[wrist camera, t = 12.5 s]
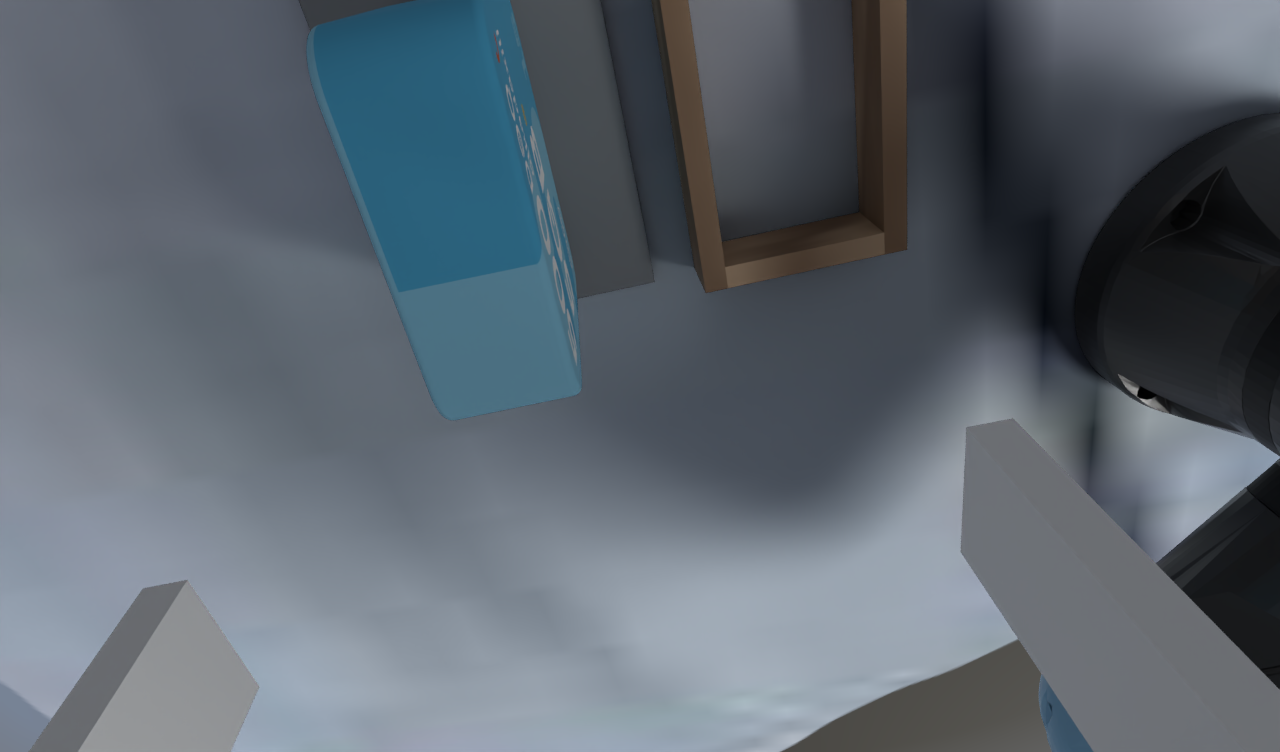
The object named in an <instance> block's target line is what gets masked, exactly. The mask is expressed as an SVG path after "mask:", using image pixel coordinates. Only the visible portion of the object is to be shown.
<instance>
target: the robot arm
mask: <svg viewBox="0 0 1280 752" xmlns="http://www.w3.org/2000/svg"><path fill="white" fill-rule="evenodd" d="M1075 325H1076V332H1077V337H1078V340H1079V343H1080V346H1081V348H1082V351H1083V353H1084V355H1085V357H1086V358H1087V360H1088V361H1089V363H1090V364H1091V365H1092V367H1093V368H1094V369H1095V370H1096V371H1097V372H1098V373H1099V374H1100V375H1101V376H1102V377H1104V378H1105V379H1106V380H1108V381H1109V382H1110V383H1112V384H1113V385H1114V386H1116V387H1117V388H1118V389H1120V390H1121V391H1122V392H1124V393H1125V394H1126V395H1128V396H1129V397H1130V398H1132V399H1134V400H1136V401H1137V402H1139V403H1141V404H1143V405H1146V406H1148V407H1150V408H1153V409H1156V410H1159V411H1162V412H1165V413H1169V414H1172V415H1175V416H1178V417H1182V418H1185V419H1188V420H1192V421H1195V422H1198V423H1202V424H1205V425H1208V426H1212V427H1215V428H1218V429H1222V430H1225V431H1228V432H1232V433H1235V434H1238V435H1241V436H1245V437H1248V438H1251V439H1255V440H1256V441H1258V442H1259V443H1261V444H1263V445H1264V446H1265V447H1267V448H1268V449H1270V450H1271V451H1273V452H1274V453H1276V454H1277V455H1279V456H1280V113H1273V114H1266V115H1260V116H1255V117H1251V118H1247V119H1244V120H1241V121H1237V122H1234V123H1231V124H1229V125H1226V126H1224V127H1221V128H1219V129H1217V130H1215V131H1213V132H1210V133H1208V134H1206V135H1204V136H1203V137H1201V138H1199V139H1197V140H1195V141H1193V142H1192V143H1190V144H1189V145H1187V146H1185V147H1184V148H1182V149H1181V150H1179V151H1178V152H1176V153H1175V154H1173V155H1172V156H1171V157H1169V158H1168V159H1167V160H1165V161H1164V162H1163V163H1161V164H1160V165H1159V166H1158V167H1157V168H1155V169H1154V170H1153V171H1152V172H1151V173H1150V174H1148V175H1147V176H1146V177H1145V178H1144V179H1143V180H1142V181H1141V182H1140V183H1139V184H1138V185H1137V186H1136V187H1135V188H1134V189H1133V190H1132V191H1131V192H1130V193H1129V195H1128V196H1127V197H1126V198H1125V199H1124V200H1123V201H1122V203H1121V204H1120V205H1119V206H1118V208H1117V209H1116V210H1115V212H1114V213H1113V214H1112V216H1111V217H1110V218H1109V220H1108V221H1107V223H1106V224H1105V226H1104V227H1103V229H1102V231H1101V232H1100V234H1099V236H1098V237H1097V239H1096V241H1095V243H1094V245H1093V247H1092V249H1091V251H1090V253H1089V255H1088V257H1087V260H1086V263H1085V265H1084V268H1083V271H1082V274H1081V277H1080V281H1079V285H1078V289H1077V295H1076V302H1075ZM961 553H962V555H963V556H964V558H965V559H966V561H967V562H968V564H969V565H970V567H971V568H972V570H973V571H974V573H975V574H976V576H977V577H978V579H979V580H980V582H981V583H982V585H983V586H984V588H985V589H986V591H987V592H988V594H989V595H990V597H991V598H992V600H993V601H994V603H995V604H996V606H997V607H998V609H999V610H1000V612H1001V613H1002V615H1003V616H1004V618H1005V619H1006V621H1007V622H1008V624H1009V625H1010V627H1011V628H1012V630H1013V631H1014V633H1015V634H1016V636H1017V637H1018V639H1019V640H1020V642H1021V643H1022V645H1023V646H1024V648H1025V649H1026V651H1027V652H1028V653H1029V655H1030V657H1031V658H1032V660H1033V661H1034V663H1035V664H1036V666H1037V667H1038V669H1039V670H1040V672H1041V673H1042V675H1041V679H1040V686H1039V704H1040V713H1041V717H1042V720H1043V723H1044V726H1045V729H1046V731H1047V737H1048V742H1049V745H1050V747H1051V750H1052V752H1280V459H1278V460H1277V461H1276V462H1275V463H1274V464H1273V465H1272V466H1271V467H1270V468H1268V469H1267V470H1266V471H1265V472H1264V473H1263V474H1261V475H1260V476H1259V477H1258V478H1257V479H1256V480H1254V481H1253V482H1252V483H1251V484H1250V485H1248V486H1247V487H1245V488H1244V489H1243V490H1242V491H1240V492H1239V493H1238V494H1237V495H1236V496H1235V497H1233V498H1232V499H1231V500H1230V501H1229V502H1228V503H1226V504H1225V505H1224V506H1223V507H1222V508H1220V509H1219V510H1218V511H1217V512H1216V513H1215V514H1213V515H1212V516H1211V517H1210V518H1209V519H1208V520H1206V521H1205V522H1204V523H1203V524H1202V525H1201V526H1199V527H1198V528H1197V529H1196V530H1195V531H1194V532H1192V533H1191V534H1190V535H1189V536H1188V537H1186V538H1185V539H1184V540H1183V541H1182V542H1181V543H1179V544H1178V545H1177V546H1176V547H1175V548H1174V549H1172V550H1171V551H1170V552H1169V553H1168V554H1167V555H1165V556H1164V557H1163V558H1162V559H1161V560H1160V561H1158V562H1157V563H1155V562H1154V561H1153V560H1152V559H1151V558H1150V557H1149V556H1148V555H1147V554H1146V553H1145V552H1144V551H1143V550H1142V549H1141V548H1140V547H1139V546H1138V545H1137V544H1136V543H1135V542H1134V541H1133V540H1132V539H1131V538H1130V537H1129V536H1128V535H1127V534H1126V533H1125V532H1124V531H1123V530H1122V529H1121V528H1120V527H1119V526H1118V525H1117V524H1116V523H1115V522H1114V521H1113V520H1112V519H1111V518H1110V517H1109V516H1108V515H1107V514H1106V513H1105V511H1104V510H1103V509H1102V508H1101V507H1100V506H1099V505H1098V504H1097V503H1096V502H1095V501H1094V500H1093V499H1092V498H1091V497H1090V496H1089V495H1088V494H1087V493H1086V492H1085V491H1084V490H1083V489H1082V488H1081V487H1080V486H1079V485H1078V484H1077V483H1076V482H1075V481H1074V480H1073V479H1072V478H1071V477H1070V476H1069V475H1068V474H1067V473H1066V472H1065V471H1064V470H1063V469H1062V468H1061V467H1060V466H1059V465H1058V464H1057V463H1056V462H1055V461H1054V460H1053V459H1052V458H1051V457H1050V456H1049V455H1048V453H1047V452H1046V451H1045V450H1044V449H1043V448H1042V447H1041V446H1040V445H1039V444H1038V443H1037V442H1036V441H1035V440H1034V439H1033V438H1032V437H1031V436H1030V435H1029V434H1028V433H1027V432H1026V431H1025V430H1024V429H1023V428H1022V427H1021V426H1020V425H1019V424H1018V423H1017V422H1016V421H1015V420H1014V419H1013V418H1012V419H1007V420H1002V421H997V422H992V423H987V424H982V425H977V426H972V427H966V448H965V469H964V490H963V512H962V533H961ZM258 689H259V685H258V684H257V682H256V681H255V679H254V678H253V676H252V675H251V674H250V672H249V671H248V669H247V668H246V666H245V665H244V663H243V662H242V660H241V659H240V657H239V656H238V654H237V653H236V651H235V650H234V648H233V647H232V645H231V644H230V642H229V641H228V639H227V638H226V636H225V635H224V633H223V632H222V630H221V629H220V627H219V626H218V625H217V623H216V622H215V620H214V619H213V617H212V616H211V614H210V613H209V611H208V610H207V608H206V607H205V605H204V604H203V602H202V601H201V599H200V598H199V596H198V595H197V593H196V592H195V590H194V589H193V587H192V586H191V584H190V583H189V581H188V580H184V581H179V582H174V583H169V584H164V585H159V586H154V587H149V588H144V589H142V591H141V592H140V594H139V595H138V596H137V598H136V599H135V601H134V602H133V604H132V605H131V606H130V608H129V609H128V611H127V612H126V614H125V615H124V616H123V618H122V619H121V621H120V622H119V624H118V625H117V626H116V628H115V629H114V631H113V632H112V634H111V635H110V636H109V638H108V639H107V641H106V642H105V644H104V645H103V646H102V648H101V649H100V651H99V652H98V654H97V655H96V656H95V658H94V659H93V661H92V662H91V664H90V665H89V666H88V668H87V669H86V671H85V672H84V674H83V675H82V676H81V678H80V679H79V681H78V682H77V684H76V685H75V686H74V688H73V689H72V691H71V692H70V694H69V695H68V696H67V698H66V699H65V701H64V702H63V704H62V705H61V706H60V708H59V709H58V711H57V712H56V714H55V715H54V716H53V718H52V719H51V721H50V722H49V723H48V725H47V726H46V728H45V729H44V731H43V732H42V734H41V735H40V736H39V738H38V739H37V741H36V742H35V744H34V745H33V746H32V748H31V749H30V751H29V752H231V750H232V747H233V745H234V743H235V741H236V738H237V736H238V734H239V732H240V729H241V727H242V725H243V723H244V720H245V718H246V716H247V714H248V711H249V709H250V707H251V704H252V702H253V700H254V698H255V695H256V693H257V691H258Z"/></svg>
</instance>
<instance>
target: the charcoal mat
mask: <svg viewBox="0 0 1280 752" xmlns="http://www.w3.org/2000/svg"><path fill="white" fill-rule="evenodd" d="M410 1H415V0H299V2H300V5H301V7H302V10H303V13H304V15H305V18H306V20H307V23H308V26H309V28H310V31H311V30H312V29H313V28H314V27H315V26H317V25H320V24H323V23H327V22H331V21H334V20H338V19H342V18H346V17H349V16H353V15H357V14H360V13H364V12H368V11H372V10H375V9H379V8H383V7H386V6H391V5H396V4H400V3H405V2H410ZM510 3H511V6H512V10H513V13H514V17H515V21H516V25H517V29H518V33H519V37H520V41H521V46H522V50H523V54H524V58H525V62H526V66H527V71H528V75H529V79H530V83H531V87H532V91H533V96H534V100H535V104H536V108H537V112H538V116H539V121H540V125H541V129H542V133H543V137H544V141H545V146H546V150H547V154H548V158H549V162H550V166H551V171H552V175H553V179H554V183H555V187H556V192H557V196H558V200H559V204H560V208H561V212H562V217H563V221H564V225H565V229H566V233H567V237H568V242H569V246H570V250H571V255H572V260H573V265H574V271H575V277H576V289H577V299H578V298H583V297H587V296H592V295H596V294H601V293H606V292H610V291H615V290H620V289H624V288H629V287H633V286H638V285H643V284H647V283H652V282H655V280H654V275H653V270H652V265H651V259H650V254H649V249H648V244H647V239H646V234H645V228H644V223H643V218H642V213H641V208H640V203H639V197H638V192H637V187H636V182H635V177H634V172H633V166H632V161H631V156H630V151H629V146H628V141H627V135H626V130H625V125H624V120H623V115H622V110H621V104H620V99H619V94H618V89H617V84H616V79H615V73H614V68H613V63H612V58H611V53H610V48H609V43H608V37H607V32H606V27H605V22H604V17H603V12H602V6H601V1H600V0H510Z"/></svg>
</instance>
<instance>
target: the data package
mask: <svg viewBox="0 0 1280 752" xmlns="http://www.w3.org/2000/svg"><path fill="white" fill-rule="evenodd" d="M306 53H307V64H308V70H309V74H310V79H311V83H312V86H313V90H314V93H315V96H316V99H317V102H318V105H319V107H320V110H321V112H322V115H323V118H324V120H325V123H326V125H327V128H328V131H329V133H330V136H331V138H332V141H333V144H334V146H335V149H336V151H337V154H338V157H339V159H340V162H341V164H342V167H343V170H344V172H345V175H346V177H347V180H348V183H349V185H350V188H351V190H352V193H353V196H354V198H355V201H356V203H357V206H358V209H359V211H360V214H361V217H362V219H363V222H364V224H365V227H366V230H367V232H368V235H369V237H370V240H371V243H372V245H373V248H374V250H375V253H376V256H377V258H378V261H379V263H380V266H381V269H382V271H383V274H384V276H385V279H386V282H387V284H388V287H389V289H390V292H391V295H392V297H393V300H394V302H395V305H396V308H397V310H398V313H399V315H400V318H401V321H402V323H403V326H404V328H405V331H406V334H407V336H408V339H409V341H410V344H411V347H412V349H413V352H414V354H415V357H416V360H417V362H418V365H419V367H420V370H421V373H422V375H423V378H424V380H425V383H426V386H427V388H428V391H429V393H430V396H431V398H432V401H433V403H434V405H435V406H436V408H437V410H438V411H439V413H440V414H441V415H442V416H443V417H445V418H446V419H448V420H459V419H464V418H468V417H473V416H478V415H483V414H488V413H493V412H498V411H502V410H507V409H512V408H517V407H522V406H527V405H532V404H537V403H541V402H546V401H551V400H556V399H561V398H566V397H571V396H575V395H577V394H578V393H579V392H580V391H581V388H582V375H581V358H580V341H579V324H578V307H577V289H576V277H575V271H574V265H573V260H572V255H571V250H570V246H569V242H568V237H567V233H566V229H565V225H564V221H563V217H562V212H561V208H560V204H559V200H558V196H557V192H556V187H555V183H554V179H553V175H552V171H551V166H550V162H549V158H548V154H547V150H546V146H545V141H544V137H543V133H542V129H541V125H540V121H539V116H538V112H537V108H536V104H535V100H534V96H533V91H532V87H531V83H530V79H529V75H528V71H527V66H526V62H525V58H524V54H523V50H522V46H521V41H520V37H519V33H518V29H517V25H516V21H515V17H514V13H513V10H512V6H511V3H510V0H415V1H410V2H405V3H400V4H396V5H391V6H386V7H383V8H379V9H375V10H372V11H368V12H364V13H360V14H357V15H353V16H349V17H346V18H342V19H338V20H334V21H331V22H327V23H323V24H320V25H317V26H315V27H314V28H313V29H312V30H311V31H310V33H309V35H308V38H307V46H306Z"/></svg>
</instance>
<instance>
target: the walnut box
mask: <svg viewBox="0 0 1280 752" xmlns="http://www.w3.org/2000/svg"><path fill="white" fill-rule="evenodd" d="M651 2H652V8H653V14H654V20H655V26H656V32H657V39H658V45H659V51H660V57H661V63H662V70H663V76H664V82H665V88H666V94H667V100H668V107H669V113H670V119H671V125H672V131H673V138H674V144H675V150H676V156H677V162H678V168H679V175H680V181H681V187H682V193H683V199H684V206H685V212H686V218H687V224H688V230H689V236H690V243H691V249H692V255H693V261H694V267H695V270H696V272H697V275H698V277H699V279H700V281H701V284H702V286H703V288H704V290H705V292H706V293H708V292H713V291H718V290H722V289H727V288H732V287H736V286H741V285H746V284H750V283H755V282H759V281H764V280H769V279H773V278H778V277H783V276H787V275H792V274H796V273H801V272H806V271H810V270H815V269H820V268H824V267H829V266H834V265H838V264H843V263H847V262H852V261H857V260H861V259H866V258H871V257H875V256H880V255H884V254H889V253H894V252H898V251H903V250H907V5H906V0H852V26H853V54H854V81H855V108H856V135H857V162H858V189H859V212H858V213H853V214H848V215H844V216H839V217H834V218H830V219H825V220H821V221H816V222H811V223H807V224H802V225H798V226H793V227H788V228H784V229H779V230H774V231H770V232H765V233H761V234H756V235H751V236H747V237H742V238H738V239H733V240H728V241H724V242H722V241H721V234H720V226H719V219H718V212H717V205H716V198H715V190H714V183H713V176H712V169H711V162H710V154H709V147H708V140H707V133H706V126H705V118H704V111H703V104H702V97H701V90H700V82H699V75H698V68H697V61H696V53H695V46H694V39H693V32H692V25H691V17H690V10H689V3H688V0H651Z"/></svg>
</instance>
